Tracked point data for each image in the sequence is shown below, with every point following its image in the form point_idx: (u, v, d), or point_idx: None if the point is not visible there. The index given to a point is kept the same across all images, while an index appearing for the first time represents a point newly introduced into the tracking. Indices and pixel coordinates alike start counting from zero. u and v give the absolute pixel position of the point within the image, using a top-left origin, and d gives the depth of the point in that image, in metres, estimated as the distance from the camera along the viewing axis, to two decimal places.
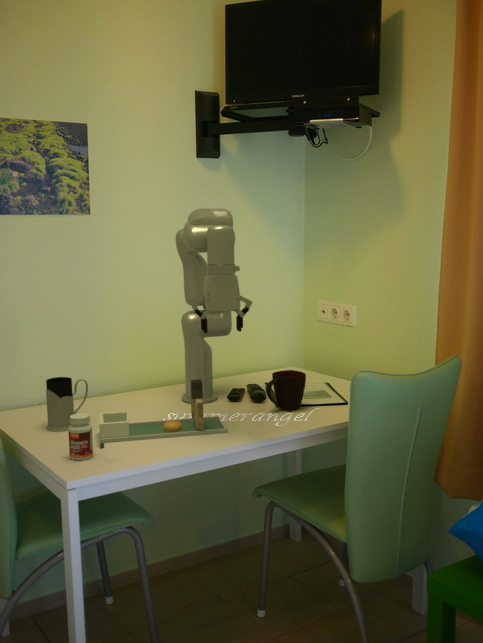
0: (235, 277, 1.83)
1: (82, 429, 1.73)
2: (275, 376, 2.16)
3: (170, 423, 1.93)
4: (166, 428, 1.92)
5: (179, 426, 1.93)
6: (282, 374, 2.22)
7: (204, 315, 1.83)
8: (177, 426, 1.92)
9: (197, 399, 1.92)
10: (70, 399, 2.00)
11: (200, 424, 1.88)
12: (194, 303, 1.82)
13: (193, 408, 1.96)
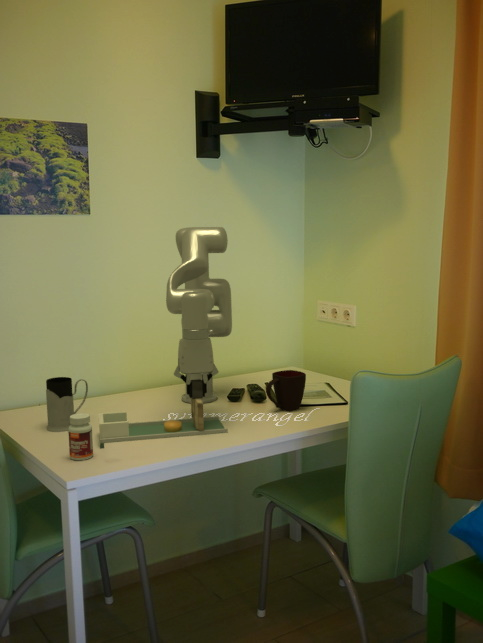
0: (208, 341, 1.91)
1: (82, 429, 1.73)
2: (275, 376, 2.16)
3: (170, 423, 1.93)
4: (167, 428, 1.92)
5: (180, 426, 1.93)
6: (282, 374, 2.22)
7: (188, 380, 1.92)
8: (178, 426, 1.92)
9: (197, 399, 1.92)
10: (70, 399, 2.00)
11: (200, 424, 1.88)
12: (176, 372, 1.91)
13: (193, 408, 1.96)
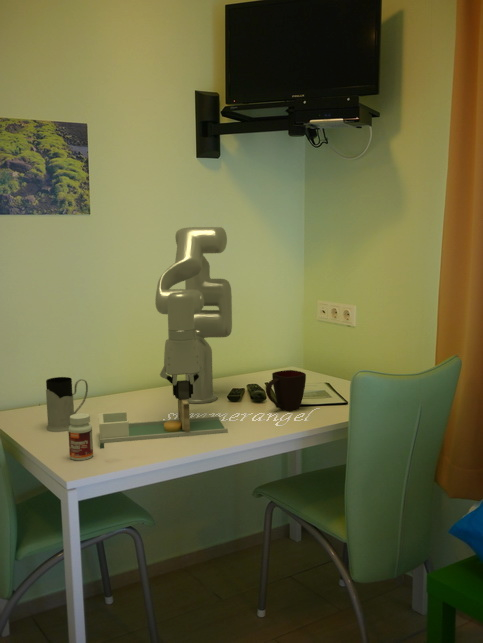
0: (195, 342, 1.90)
1: (82, 429, 1.73)
2: (275, 376, 2.16)
3: (170, 423, 1.93)
4: (167, 428, 1.92)
5: (180, 426, 1.93)
6: (282, 374, 2.22)
7: (174, 381, 1.91)
8: (178, 426, 1.92)
9: (183, 400, 1.91)
10: (70, 399, 2.00)
11: (186, 425, 1.88)
12: (162, 373, 1.91)
13: (180, 409, 1.96)
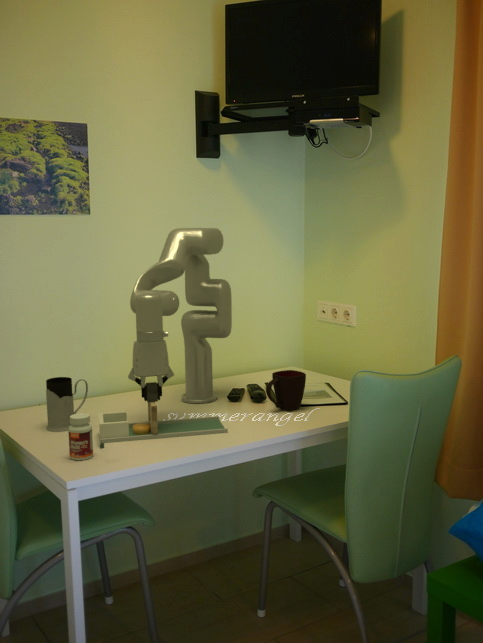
0: (163, 343, 1.88)
1: (82, 429, 1.73)
2: (275, 376, 2.16)
3: (139, 426, 1.91)
4: (136, 431, 1.90)
5: (149, 428, 1.91)
6: (282, 374, 2.22)
7: (143, 383, 1.89)
8: (147, 428, 1.90)
9: (152, 402, 1.89)
10: (70, 399, 2.00)
11: (154, 428, 1.86)
12: (130, 375, 1.88)
13: (149, 411, 1.94)
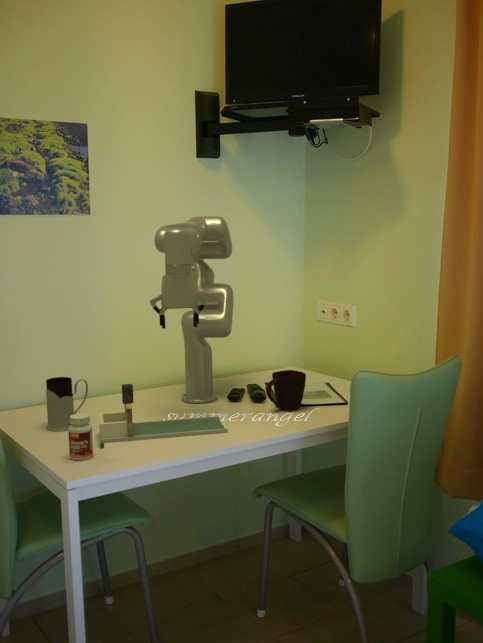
0: (191, 276, 1.97)
1: (82, 429, 1.73)
2: (275, 376, 2.16)
3: None
4: None
5: None
6: (282, 374, 2.22)
7: (162, 312, 1.97)
8: None
9: (127, 404, 1.88)
10: (70, 399, 2.00)
11: (129, 430, 1.84)
12: (153, 301, 1.97)
13: (125, 413, 1.92)
